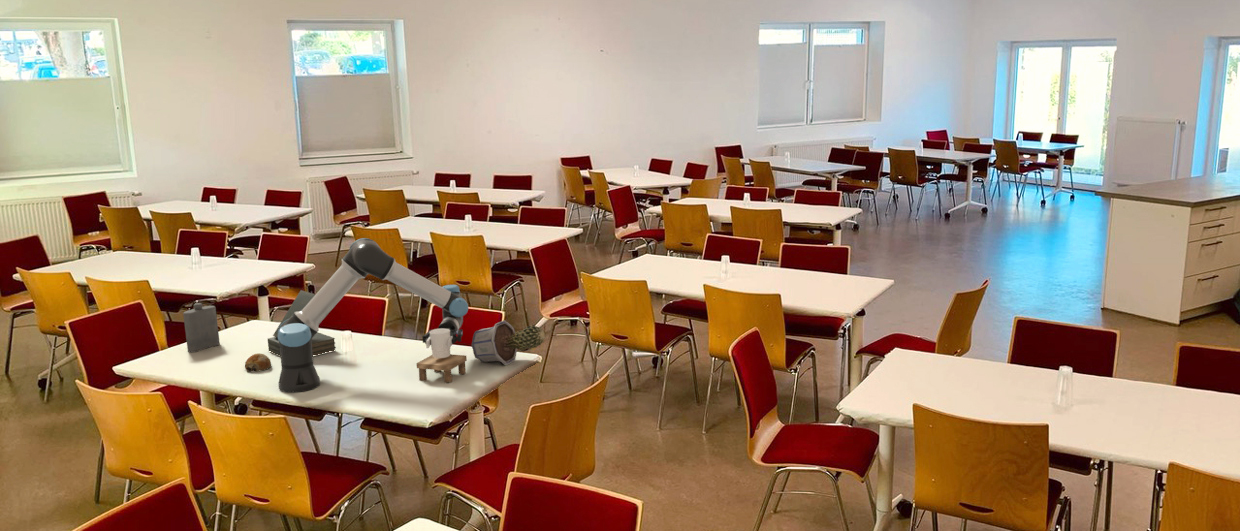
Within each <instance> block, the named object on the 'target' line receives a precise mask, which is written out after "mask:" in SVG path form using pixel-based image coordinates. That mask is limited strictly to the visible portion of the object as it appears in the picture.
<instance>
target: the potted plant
mask: <svg viewBox="0 0 1240 531" xmlns="http://www.w3.org/2000/svg"><path fill="white" fill-rule="evenodd" d="M545 338H546V334H545V332H544V329H542V328H541V327H539V326H537V325H534V324H532V325H531V324H530V325H528V326H526V327H524V328H523V330H522V329H521V330H517V331H515V328H514V327H513V325H511V324H510V322H507V320H505V319H504V320H502V321H499V322H497V323H495V324H494V325H493V326H492V327H487V328H481V329H479V330H475V331H474V333H473V336H472V341H471V348H472V352H473V356H474V358H475V359H477V360H478V361H479V362H481V363H485V362H501V363H502V364H503V365H505V366H507V365H510V364H511V363H513V362H514V361H515V360H516V357H517V353H518V351H525V350H527V349H533V348H534V349H535V348H537V347H538V346H541V345H542V344H543V343H544V342H545Z"/></svg>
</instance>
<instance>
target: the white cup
mask: <svg viewBox="0 0 1240 531" xmlns="http://www.w3.org/2000/svg"><path fill="white" fill-rule="evenodd" d="M430 330H431V331H430V332H429V333H430V341H431V345H430V347H431V352H432V353H431V355H433V357H434V358H446V357H449V356H450V354H451V347H450V348H448V340H449V338H450V330H449V329H444V328H442V329H438V328H434V329H430Z"/></svg>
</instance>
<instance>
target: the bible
mask: <svg viewBox="0 0 1240 531" xmlns="http://www.w3.org/2000/svg"><path fill="white" fill-rule="evenodd" d="M316 294H317V293H312V292H309V291H305V290H302V289H300V291H299V292H298V294H297V295H296V297H295V298H294V300H293V302H292V303H291V306H290V307H289V308H288V310H287V312H286V313H285V315H284V317H283V318H282V319H281V321H280V324H278V327H277V328H276V330H275V332H273V334H272V337H268V338H267V346H268V352H269V351H271V352H273V353H275V354H274V355H276V354H278V355H280V347H279V341H278V336H277V335H278V329H279V327H280V325H281V324H282V323H283V322H284V321H286V320H288V319H289V318H290V317H291V316H292V315H293V314H294V313H295V312H299V311H302V310H303V308H304V307H305V306H306V305H307V304H308V303H309V302H310V300H311V299H312V298H313V297H314V296H315V295H316ZM335 339H336V338H335V337H332V336H330V335H327V334H323V333H321V332H319V331H318V332H317V333H316V334H315V335H314V337H313V338H312V339H311V342H312V353H313V355H318V354H322V353H325V352H329V351H334V350H335V351H336V345H335V344H336V342H335ZM271 352H270V353H271ZM273 353H272V354H273ZM278 355H277V356H278ZM322 355H323V354H322ZM318 356H319V355H318Z"/></svg>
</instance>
